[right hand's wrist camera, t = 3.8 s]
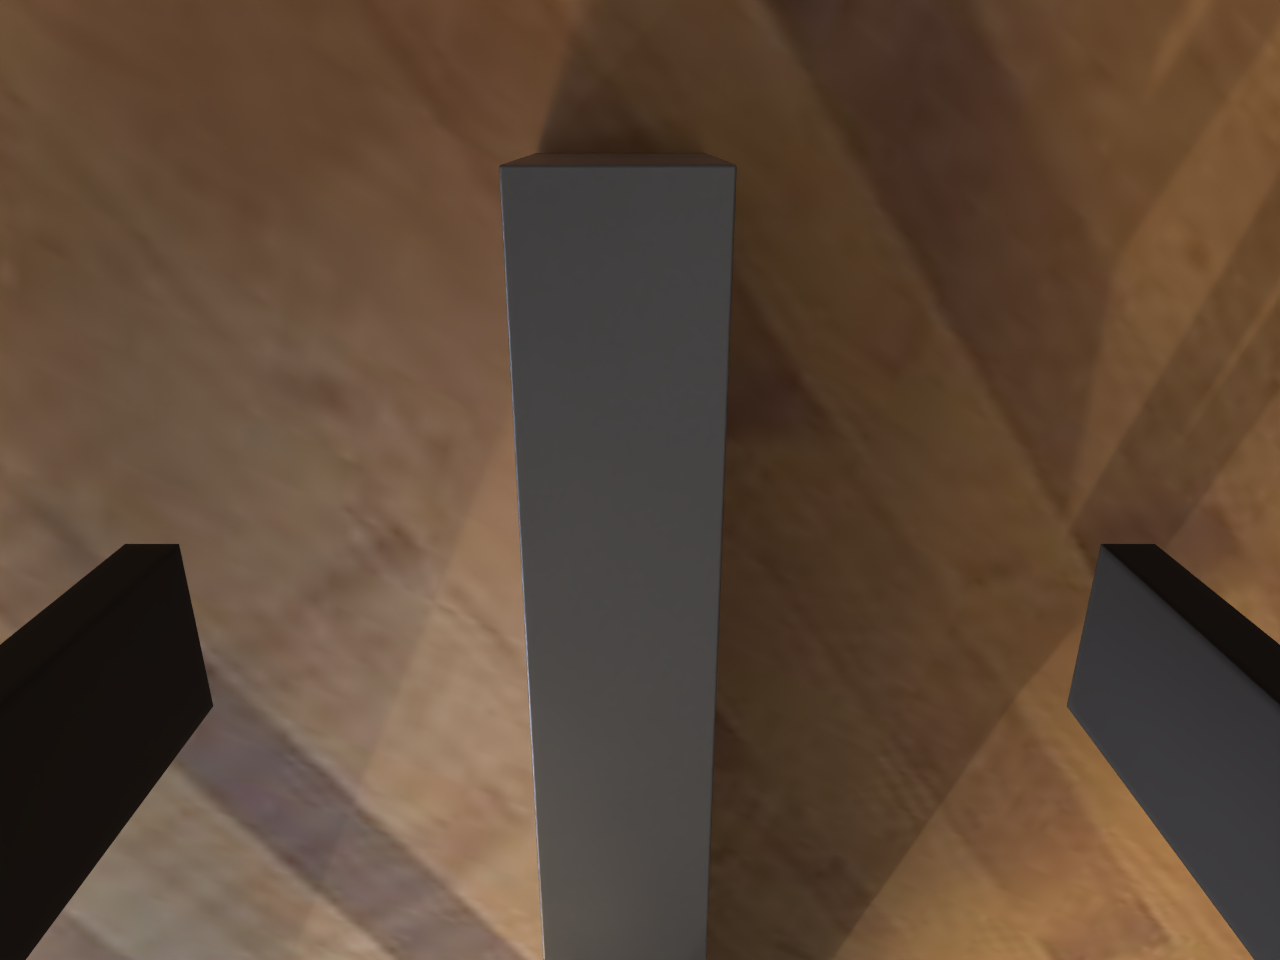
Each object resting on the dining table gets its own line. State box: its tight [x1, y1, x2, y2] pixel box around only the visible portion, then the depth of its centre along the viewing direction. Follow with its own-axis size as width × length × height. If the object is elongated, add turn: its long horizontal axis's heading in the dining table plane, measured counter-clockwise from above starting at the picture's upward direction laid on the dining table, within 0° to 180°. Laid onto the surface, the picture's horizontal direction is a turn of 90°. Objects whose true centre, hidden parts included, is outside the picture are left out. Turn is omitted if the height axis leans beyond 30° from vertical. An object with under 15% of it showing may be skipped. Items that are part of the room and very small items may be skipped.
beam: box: [499, 153, 737, 960], centre depth 33 cm, size 51×5×8 cm, turn 0°
